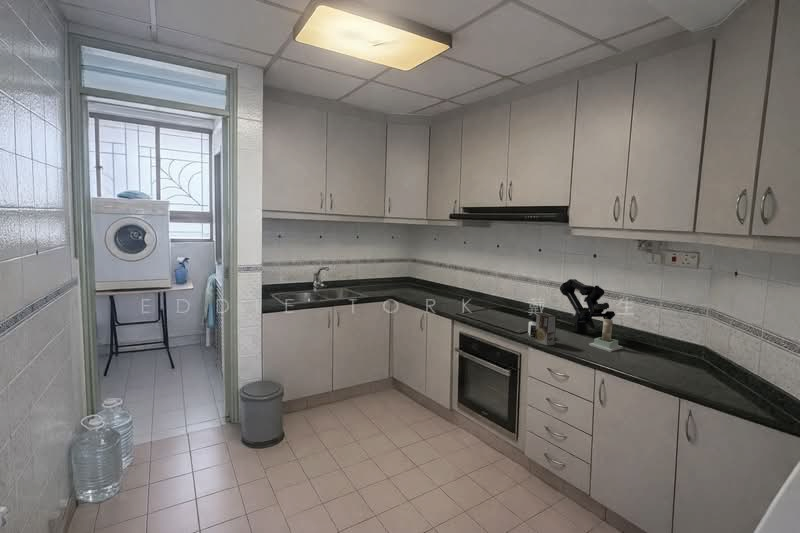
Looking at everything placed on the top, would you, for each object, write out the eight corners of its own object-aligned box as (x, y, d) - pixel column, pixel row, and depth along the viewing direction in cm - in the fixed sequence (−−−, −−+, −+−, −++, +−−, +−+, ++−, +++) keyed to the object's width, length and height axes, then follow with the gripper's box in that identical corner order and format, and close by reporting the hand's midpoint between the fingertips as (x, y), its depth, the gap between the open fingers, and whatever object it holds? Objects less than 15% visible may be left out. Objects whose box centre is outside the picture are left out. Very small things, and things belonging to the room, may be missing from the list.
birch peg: (600, 345, 217) (603, 320, 215) (601, 343, 221) (604, 318, 219) (609, 346, 215) (612, 321, 213) (610, 344, 219) (613, 320, 217)
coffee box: (555, 344, 219) (557, 316, 217) (546, 345, 217) (548, 317, 215) (542, 339, 228) (545, 312, 226) (534, 340, 225) (536, 313, 223)
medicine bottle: (529, 336, 233) (531, 316, 231) (527, 333, 240) (529, 313, 238) (542, 337, 232) (544, 317, 230) (540, 333, 239) (541, 314, 237)
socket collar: (589, 345, 220) (589, 338, 219) (601, 342, 226) (601, 335, 226) (610, 351, 210) (611, 344, 209) (622, 348, 216) (623, 341, 216)
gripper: (583, 297, 224) (593, 321, 214) (615, 297, 225) (625, 321, 216) (575, 307, 232) (583, 331, 223) (605, 307, 234) (615, 331, 225)
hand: (602, 328), depth 222 cm, fingers open, 9 cm apart
